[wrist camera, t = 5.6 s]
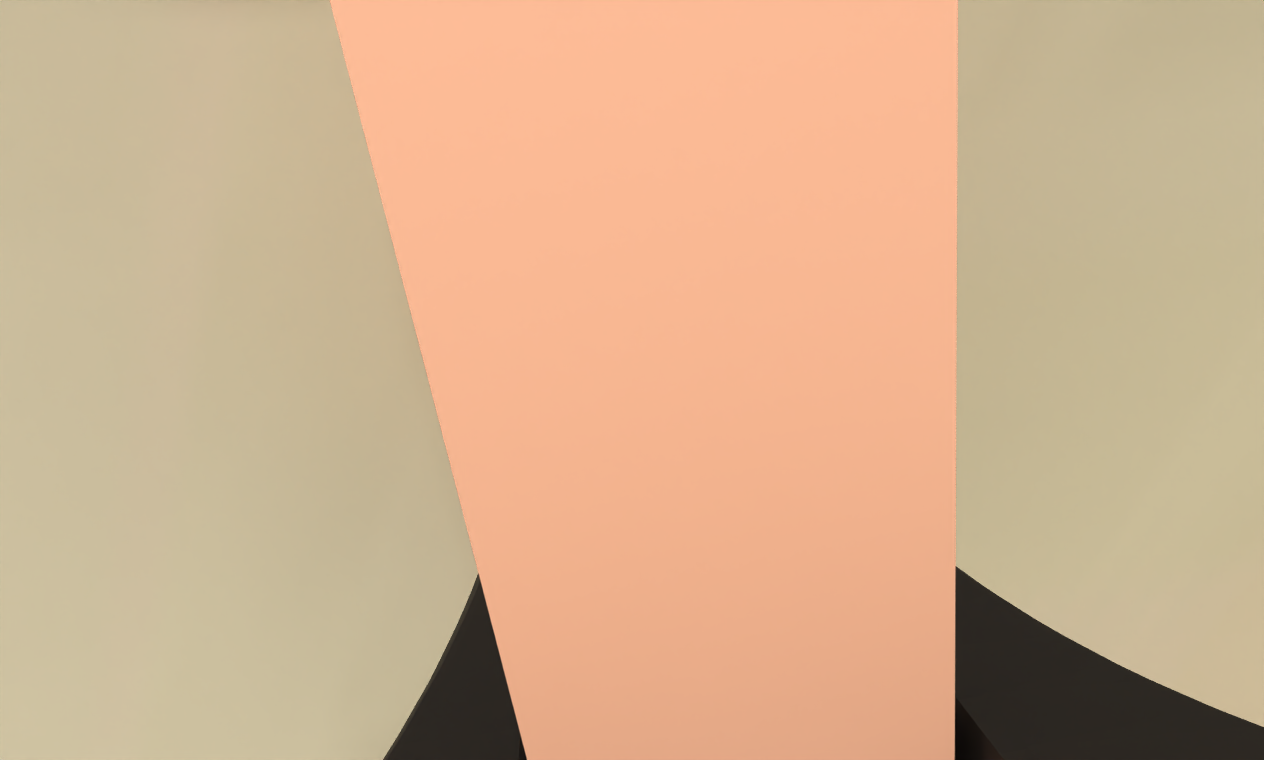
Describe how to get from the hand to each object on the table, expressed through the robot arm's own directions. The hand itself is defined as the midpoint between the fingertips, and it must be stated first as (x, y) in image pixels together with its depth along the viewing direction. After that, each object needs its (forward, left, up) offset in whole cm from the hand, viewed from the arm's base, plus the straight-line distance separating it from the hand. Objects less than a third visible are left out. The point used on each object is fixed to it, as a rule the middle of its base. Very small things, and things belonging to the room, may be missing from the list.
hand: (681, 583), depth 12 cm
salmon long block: (+3, -2, -1) cm, 4 cm away
